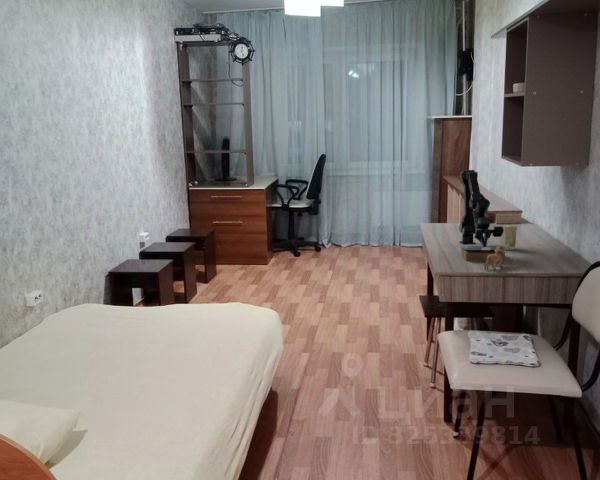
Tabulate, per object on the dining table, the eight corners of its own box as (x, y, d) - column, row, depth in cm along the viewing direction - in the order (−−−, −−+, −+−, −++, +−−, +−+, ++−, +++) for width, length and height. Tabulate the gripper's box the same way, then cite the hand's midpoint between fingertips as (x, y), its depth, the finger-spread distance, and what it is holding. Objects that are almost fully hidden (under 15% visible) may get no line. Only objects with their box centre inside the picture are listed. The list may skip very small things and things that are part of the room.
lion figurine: (495, 263, 267) (496, 244, 265) (506, 265, 263) (507, 246, 261) (481, 270, 256) (482, 250, 254) (493, 272, 253) (494, 252, 251)
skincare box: (504, 250, 290) (506, 226, 287) (499, 248, 294) (501, 225, 291) (515, 249, 291) (517, 225, 289) (510, 247, 296) (511, 224, 293)
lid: (460, 247, 283) (461, 244, 283) (497, 246, 282) (497, 244, 282) (467, 250, 270) (467, 247, 270) (505, 249, 269) (505, 247, 269)
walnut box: (460, 254, 284) (460, 247, 283) (497, 254, 283) (497, 246, 282) (466, 261, 272) (466, 253, 271) (504, 260, 271) (505, 252, 270)
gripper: (464, 210, 273) (468, 237, 265) (503, 209, 272) (509, 237, 264) (459, 223, 283) (464, 250, 274) (498, 222, 282) (503, 249, 273)
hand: (485, 246), depth 271 cm, fingers closed, pressing on lid
